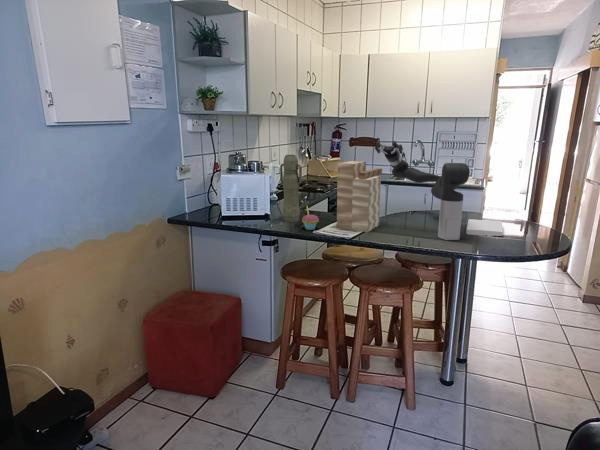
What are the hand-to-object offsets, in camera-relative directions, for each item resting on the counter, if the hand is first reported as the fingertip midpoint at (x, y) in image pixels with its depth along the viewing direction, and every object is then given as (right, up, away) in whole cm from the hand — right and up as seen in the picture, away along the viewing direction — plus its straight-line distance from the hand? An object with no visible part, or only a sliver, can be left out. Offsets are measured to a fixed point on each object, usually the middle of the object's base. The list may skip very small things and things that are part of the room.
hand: (385, 142), depth 210 cm
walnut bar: (-10, -19, -12) cm, 25 cm away
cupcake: (-40, -45, -11) cm, 61 cm away
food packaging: (+43, -47, -18) cm, 66 cm away
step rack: (-16, -44, -9) cm, 48 cm away
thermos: (-49, -41, +7) cm, 65 cm away
